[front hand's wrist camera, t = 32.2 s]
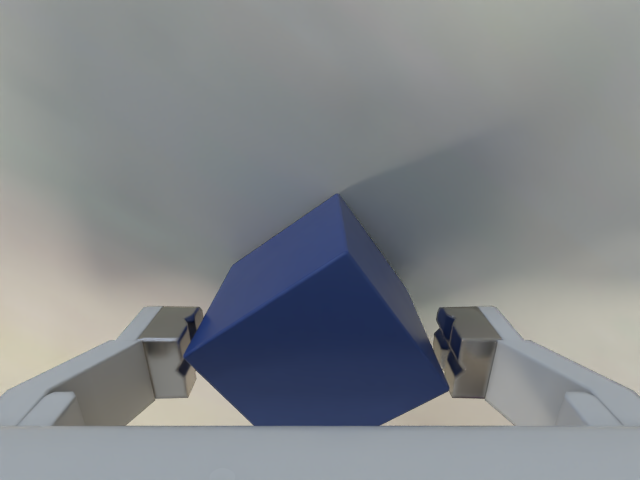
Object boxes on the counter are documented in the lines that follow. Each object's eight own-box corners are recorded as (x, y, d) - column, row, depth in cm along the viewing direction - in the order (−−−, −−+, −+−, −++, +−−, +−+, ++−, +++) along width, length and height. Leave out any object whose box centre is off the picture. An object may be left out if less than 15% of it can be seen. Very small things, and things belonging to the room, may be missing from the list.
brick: (407, 289, 13) (452, 391, 9) (305, 349, 14) (296, 468, 10) (337, 191, 12) (347, 250, 7) (231, 265, 13) (180, 357, 8)
